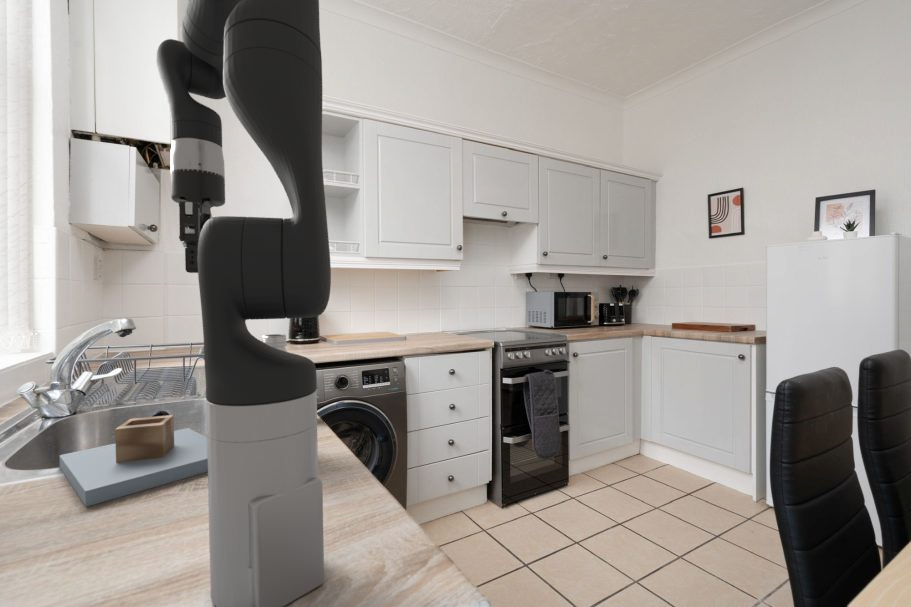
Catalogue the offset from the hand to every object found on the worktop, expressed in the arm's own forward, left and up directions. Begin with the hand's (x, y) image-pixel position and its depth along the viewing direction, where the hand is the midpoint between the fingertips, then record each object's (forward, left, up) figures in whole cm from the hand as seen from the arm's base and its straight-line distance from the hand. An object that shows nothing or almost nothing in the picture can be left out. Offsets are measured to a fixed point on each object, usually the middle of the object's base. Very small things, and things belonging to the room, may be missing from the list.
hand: (200, 274), depth 71 cm
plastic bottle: (-8, -8, -30) cm, 32 cm away
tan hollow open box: (+4, +7, -28) cm, 29 cm away
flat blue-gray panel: (+4, +7, -30) cm, 31 cm away
